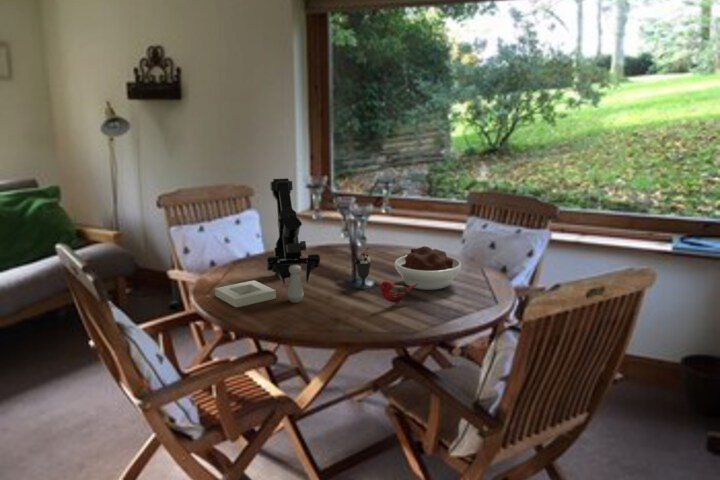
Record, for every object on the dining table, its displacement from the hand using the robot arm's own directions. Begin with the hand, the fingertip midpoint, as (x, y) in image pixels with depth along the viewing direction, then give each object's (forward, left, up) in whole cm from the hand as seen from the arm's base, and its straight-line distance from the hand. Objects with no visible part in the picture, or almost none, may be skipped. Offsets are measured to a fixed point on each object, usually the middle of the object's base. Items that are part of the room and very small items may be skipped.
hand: (295, 282), depth 228 cm
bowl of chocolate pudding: (-49, +15, -7) cm, 52 cm away
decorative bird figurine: (-26, +25, -7) cm, 37 cm away
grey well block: (+11, -16, -7) cm, 21 cm away
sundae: (-29, +1, -7) cm, 30 cm away
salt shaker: (-1, -1, -7) cm, 7 cm away
